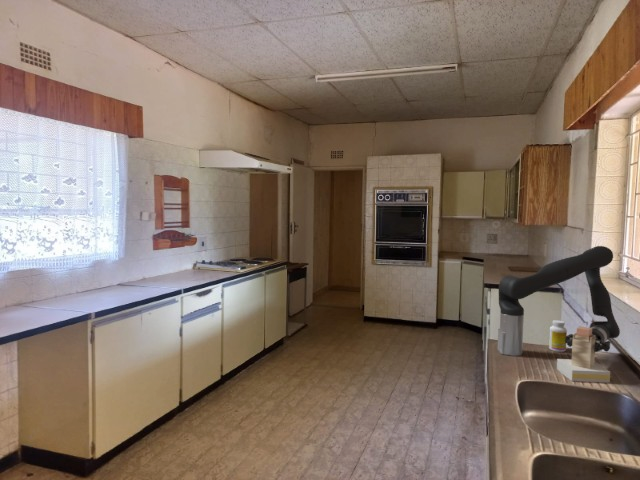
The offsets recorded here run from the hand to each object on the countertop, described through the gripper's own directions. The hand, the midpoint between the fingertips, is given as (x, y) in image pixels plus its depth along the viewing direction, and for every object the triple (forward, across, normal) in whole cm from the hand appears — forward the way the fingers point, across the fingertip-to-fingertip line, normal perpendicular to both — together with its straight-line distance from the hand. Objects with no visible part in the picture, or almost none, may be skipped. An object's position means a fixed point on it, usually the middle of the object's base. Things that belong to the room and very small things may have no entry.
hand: (582, 346), depth 159 cm
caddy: (-2, 0, +8) cm, 8 cm away
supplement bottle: (-27, -16, +12) cm, 34 cm away
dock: (-2, 0, +12) cm, 12 cm away
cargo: (-2, 0, -2) cm, 3 cm away
